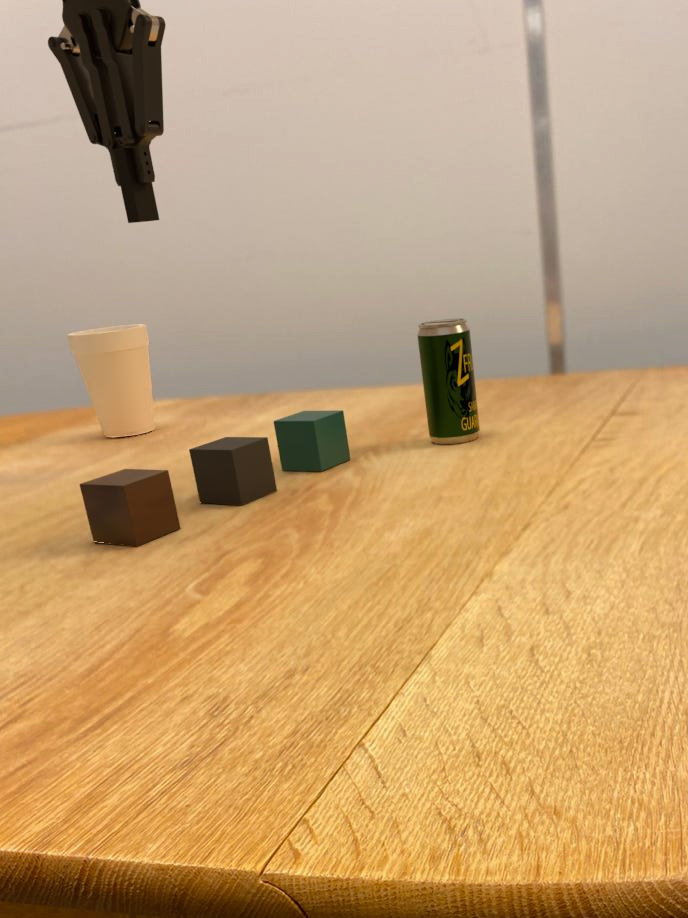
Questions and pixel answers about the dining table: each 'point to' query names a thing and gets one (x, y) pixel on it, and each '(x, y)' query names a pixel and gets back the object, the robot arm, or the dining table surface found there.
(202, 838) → the dining table surface
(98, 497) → the walnut block
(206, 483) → the charcoal block
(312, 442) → the teal block
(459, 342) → the beer can
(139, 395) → the foam cup
